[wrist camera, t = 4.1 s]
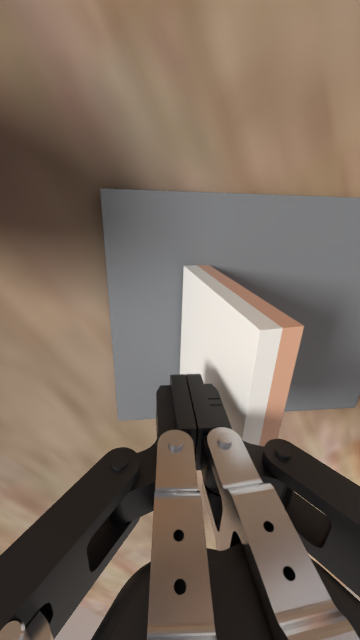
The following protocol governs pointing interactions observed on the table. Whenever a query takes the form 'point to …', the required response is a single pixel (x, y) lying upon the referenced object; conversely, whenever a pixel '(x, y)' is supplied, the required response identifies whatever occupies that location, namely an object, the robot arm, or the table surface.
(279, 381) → the tile
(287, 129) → the table surface
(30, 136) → the table surface
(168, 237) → the mat
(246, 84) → the table surface
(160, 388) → the robot arm
